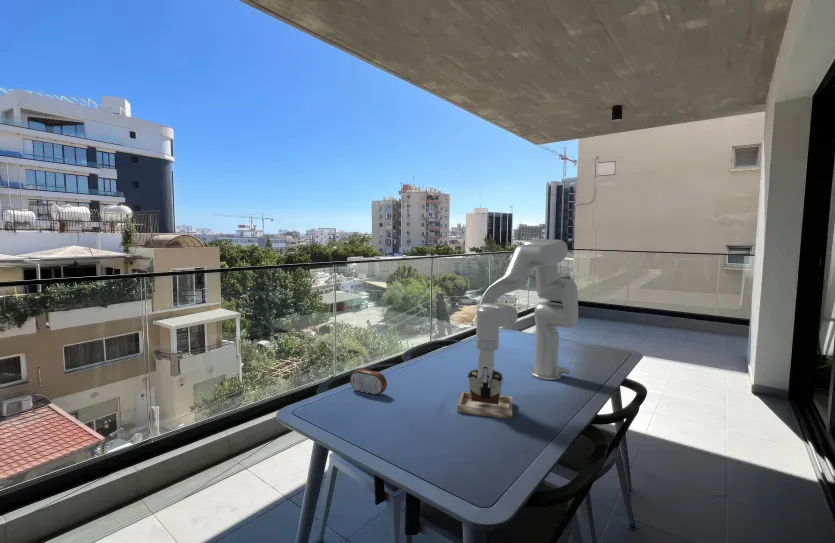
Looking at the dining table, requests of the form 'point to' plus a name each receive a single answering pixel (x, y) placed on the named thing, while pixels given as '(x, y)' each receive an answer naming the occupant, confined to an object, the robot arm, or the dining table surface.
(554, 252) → the robot arm
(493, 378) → the food container
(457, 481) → the dining table surface
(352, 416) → the dining table surface
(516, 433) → the dining table surface
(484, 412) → the holder tray
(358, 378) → the tin
